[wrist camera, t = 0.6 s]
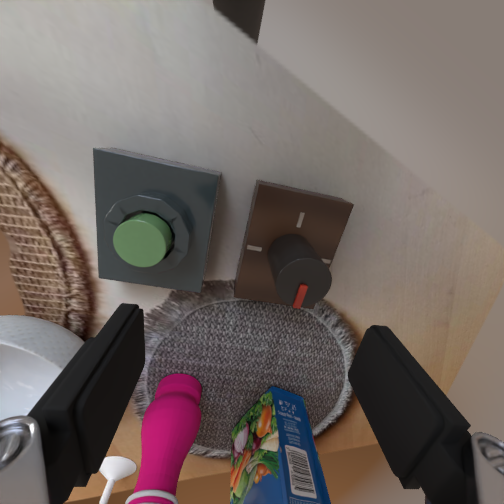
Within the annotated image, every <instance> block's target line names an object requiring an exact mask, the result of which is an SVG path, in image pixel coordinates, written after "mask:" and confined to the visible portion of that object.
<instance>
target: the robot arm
mask: <svg viewBox="0 0 504 504" xmlns="http://www.w3.org/2000/svg"><path fill="white" fill-rule="evenodd" d="M144 364H145V339H144V314H143V309H139V306H138V305H137V304H125V303H122V304H121V305H120V306H119V307H118V308H117V310H116V311H115V312H114V314H113V315H112V316H111V317H110V319H109V320H108V321H107V323H106V324H105V325H104V327H103V328H102V329H101V331H100V332H99V333H98V335H97V336H96V337H95V338H94V337H91V338H89V339H88V340H87V341H86V342H85V343H84V344H83V345H82V346H81V348H80V349H79V350H78V351H77V353H76V354H75V355H74V356H73V358H72V359H71V360H70V361H69V363H68V364H67V365H66V367H65V368H64V369H63V370H62V372H61V373H60V374H59V375H58V377H57V378H56V379H55V380H54V382H53V383H52V384H51V385H50V387H49V388H48V389H47V391H46V392H45V393H44V394H43V396H42V397H41V398H40V399H39V401H38V402H37V403H36V404H35V406H34V407H33V408H32V409H31V411H30V412H29V413H28V414H27V416H23V415H20V416H14V417H9V418H6V419H4V420H1V421H0V504H63V503H64V502H65V501H67V500H68V498H69V496H70V494H71V492H72V490H73V488H74V487H86V485H87V483H88V481H89V479H90V476H91V474H95V473H97V472H98V471H99V469H100V467H101V465H102V463H103V460H104V458H105V456H106V454H107V451H108V449H109V447H110V444H111V442H112V440H113V437H114V435H115V433H116V430H117V428H118V426H119V423H120V421H121V419H122V417H123V414H124V412H125V410H126V407H127V405H128V403H129V400H130V398H131V396H132V393H133V391H134V389H135V386H136V384H137V382H138V380H139V377H140V375H141V373H142V370H143V368H144ZM348 379H349V382H350V384H351V386H352V388H353V390H354V392H355V394H356V396H357V398H358V401H359V403H360V405H361V407H362V409H363V411H364V413H365V415H366V417H367V419H368V422H369V424H370V426H371V428H372V430H373V432H374V434H375V436H376V438H377V440H378V443H379V445H380V447H381V449H382V451H383V453H384V455H385V457H386V459H387V461H388V463H389V466H390V468H391V470H392V471H393V473H394V474H395V476H397V477H398V478H399V480H400V482H401V484H402V486H403V488H404V489H419V488H420V487H421V488H422V490H423V491H424V493H425V504H504V442H502V441H501V440H499V439H498V438H496V437H494V436H492V435H489V434H486V433H482V432H475V433H474V434H473V435H472V436H471V435H470V433H469V432H468V431H467V430H468V428H469V427H470V426H471V425H470V424H469V423H468V422H467V420H466V419H465V418H464V417H463V416H462V415H461V413H460V412H459V411H458V410H457V409H456V407H455V406H454V405H453V404H452V403H451V401H450V400H449V399H448V398H447V397H446V395H445V394H444V393H443V392H442V391H441V389H440V388H439V387H438V386H437V385H436V383H435V382H434V381H433V380H432V379H431V377H430V376H429V375H428V374H427V373H426V372H425V370H424V369H423V368H422V367H421V366H420V364H419V363H418V362H417V361H416V360H415V358H414V357H413V356H412V355H411V354H410V352H409V351H408V350H407V349H406V348H405V346H404V345H403V344H402V343H401V342H400V341H399V339H398V338H397V337H396V336H395V335H394V333H393V332H392V331H391V330H390V329H389V328H388V327H387V326H379V325H372V326H371V327H370V328H368V329H367V330H366V332H365V335H364V337H363V339H362V341H361V344H360V346H359V348H358V351H357V353H356V355H355V358H354V360H353V362H352V365H351V367H350V369H349V372H348Z"/></svg>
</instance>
